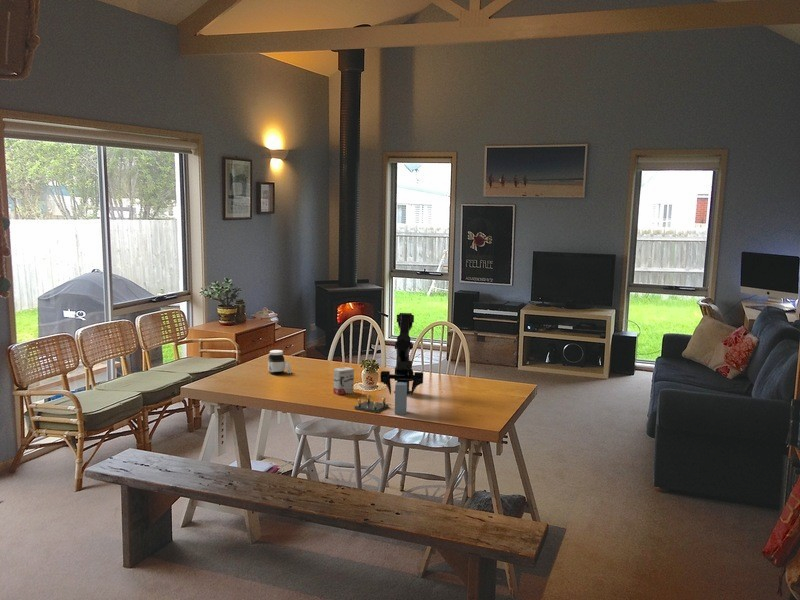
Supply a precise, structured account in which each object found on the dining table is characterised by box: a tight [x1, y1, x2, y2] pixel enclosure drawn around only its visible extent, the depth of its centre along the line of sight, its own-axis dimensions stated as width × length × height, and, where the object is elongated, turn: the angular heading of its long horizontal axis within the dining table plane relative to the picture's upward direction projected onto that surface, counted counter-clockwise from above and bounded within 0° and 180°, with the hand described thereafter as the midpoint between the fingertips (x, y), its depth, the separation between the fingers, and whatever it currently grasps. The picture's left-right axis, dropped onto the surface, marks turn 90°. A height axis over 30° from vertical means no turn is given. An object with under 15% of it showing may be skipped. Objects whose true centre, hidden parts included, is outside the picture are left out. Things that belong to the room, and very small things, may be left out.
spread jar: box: [267, 349, 292, 375], centre depth 366 cm, size 12×11×12 cm
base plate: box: [354, 394, 389, 414], centre depth 307 cm, size 11×11×4 cm
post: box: [394, 381, 408, 416], centre depth 301 cm, size 5×5×13 cm
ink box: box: [333, 366, 355, 396], centre depth 330 cm, size 9×5×12 cm, turn 126°
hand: (401, 394), depth 301 cm, fingers open, 9 cm apart
